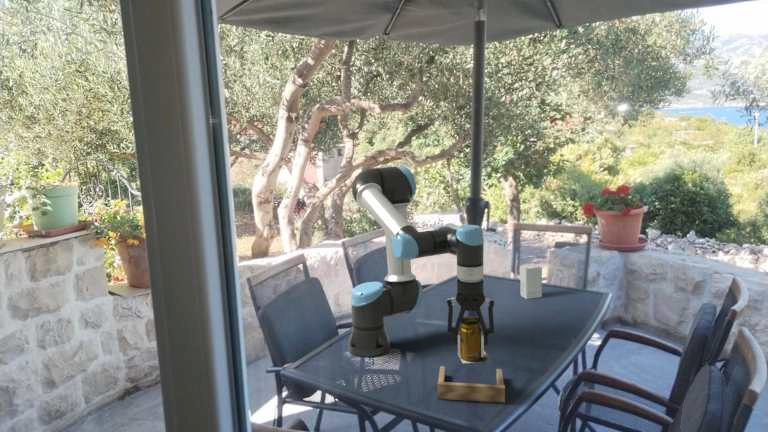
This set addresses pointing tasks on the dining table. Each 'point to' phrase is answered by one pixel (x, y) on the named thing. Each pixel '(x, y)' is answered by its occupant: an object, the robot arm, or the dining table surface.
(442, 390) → the bay
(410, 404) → the dining table surface
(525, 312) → the dining table surface
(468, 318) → the condiment
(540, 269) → the skincare box
